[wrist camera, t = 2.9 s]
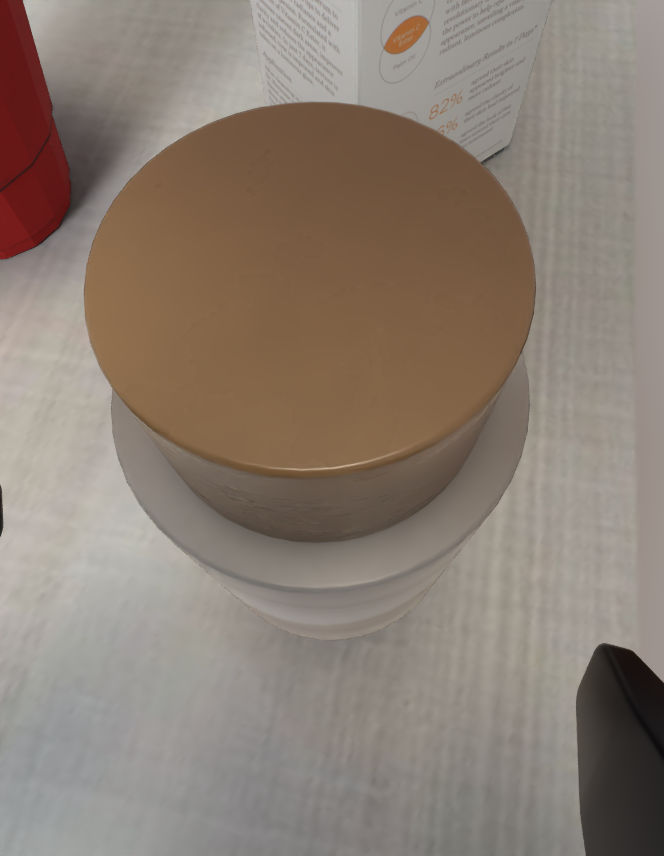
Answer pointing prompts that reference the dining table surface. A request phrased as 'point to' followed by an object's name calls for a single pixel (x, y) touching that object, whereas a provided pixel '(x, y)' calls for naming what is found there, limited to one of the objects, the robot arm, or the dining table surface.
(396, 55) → the small box
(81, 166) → the dining table surface
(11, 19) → the plastic cup
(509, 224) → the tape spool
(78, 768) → the dining table surface
